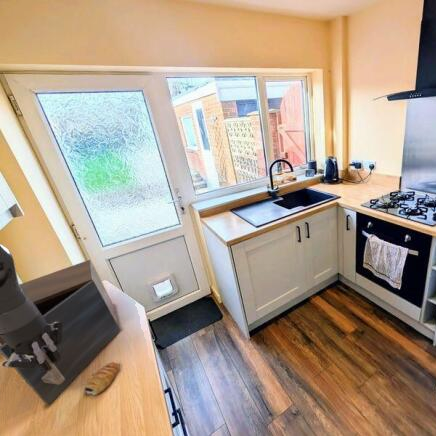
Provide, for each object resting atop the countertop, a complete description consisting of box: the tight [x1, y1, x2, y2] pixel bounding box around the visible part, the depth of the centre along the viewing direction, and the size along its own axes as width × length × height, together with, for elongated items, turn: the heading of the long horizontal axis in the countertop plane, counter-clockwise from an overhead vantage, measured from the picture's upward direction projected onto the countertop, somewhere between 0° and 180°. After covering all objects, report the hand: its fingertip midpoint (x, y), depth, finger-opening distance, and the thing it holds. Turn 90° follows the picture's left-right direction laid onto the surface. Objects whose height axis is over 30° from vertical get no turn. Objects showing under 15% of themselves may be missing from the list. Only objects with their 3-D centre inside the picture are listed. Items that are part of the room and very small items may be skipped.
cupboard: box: [0, 259, 120, 346], centre depth 90 cm, size 18×26×24 cm
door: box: [0, 281, 121, 406], centre depth 78 cm, size 7×26×24 cm, turn 170°
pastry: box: [82, 361, 120, 396], centre depth 76 cm, size 9×7×4 cm
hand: (52, 365), depth 67 cm, fingers closed on door, 2 cm apart
